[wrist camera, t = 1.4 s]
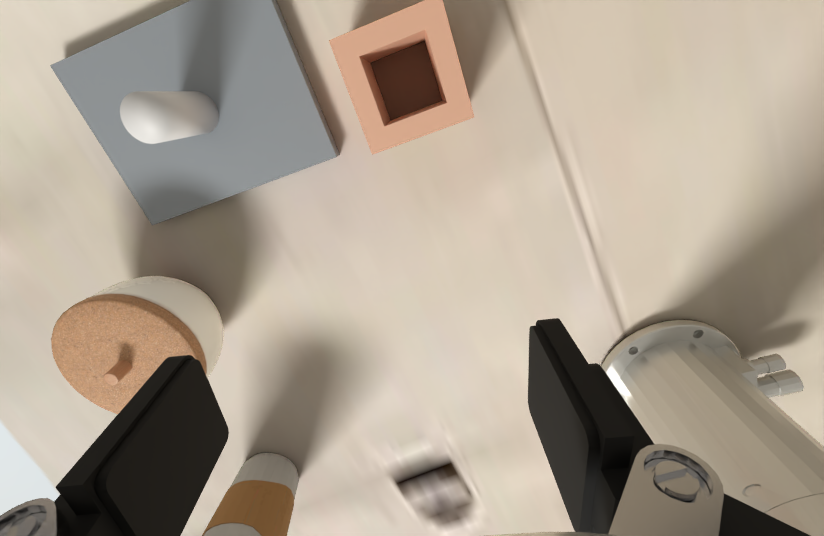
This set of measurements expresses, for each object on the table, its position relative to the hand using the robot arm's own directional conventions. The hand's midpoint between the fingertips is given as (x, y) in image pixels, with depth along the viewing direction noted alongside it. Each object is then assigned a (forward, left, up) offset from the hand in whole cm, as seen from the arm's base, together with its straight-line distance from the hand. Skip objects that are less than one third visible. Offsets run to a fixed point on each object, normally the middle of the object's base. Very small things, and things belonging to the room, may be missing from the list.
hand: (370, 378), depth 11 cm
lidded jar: (+22, +4, -22) cm, 32 cm away
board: (+11, -10, -22) cm, 27 cm away
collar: (-3, -7, -22) cm, 23 cm away
